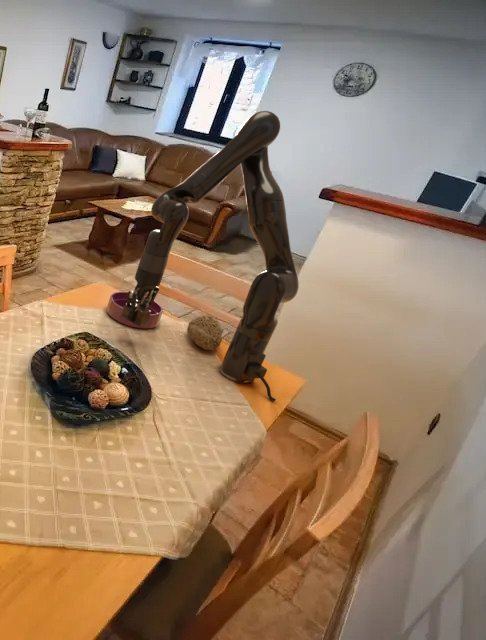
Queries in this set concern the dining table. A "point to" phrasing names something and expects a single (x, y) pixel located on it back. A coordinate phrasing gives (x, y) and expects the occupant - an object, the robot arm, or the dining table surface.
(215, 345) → the sponge
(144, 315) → the eraser
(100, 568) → the dining table surface
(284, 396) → the dining table surface
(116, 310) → the bowl
